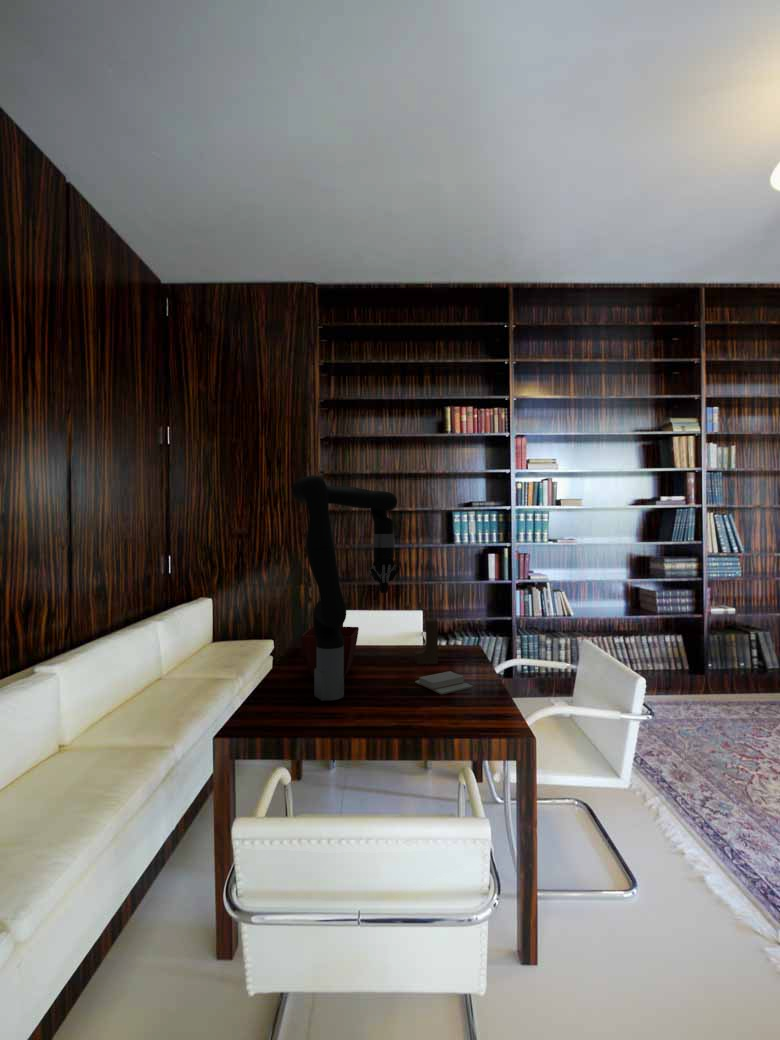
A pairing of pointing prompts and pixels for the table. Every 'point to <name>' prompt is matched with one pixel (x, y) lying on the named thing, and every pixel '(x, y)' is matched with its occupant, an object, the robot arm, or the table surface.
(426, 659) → the wooden block
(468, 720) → the table surface
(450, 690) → the felt pad
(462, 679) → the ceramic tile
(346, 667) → the plant pot
